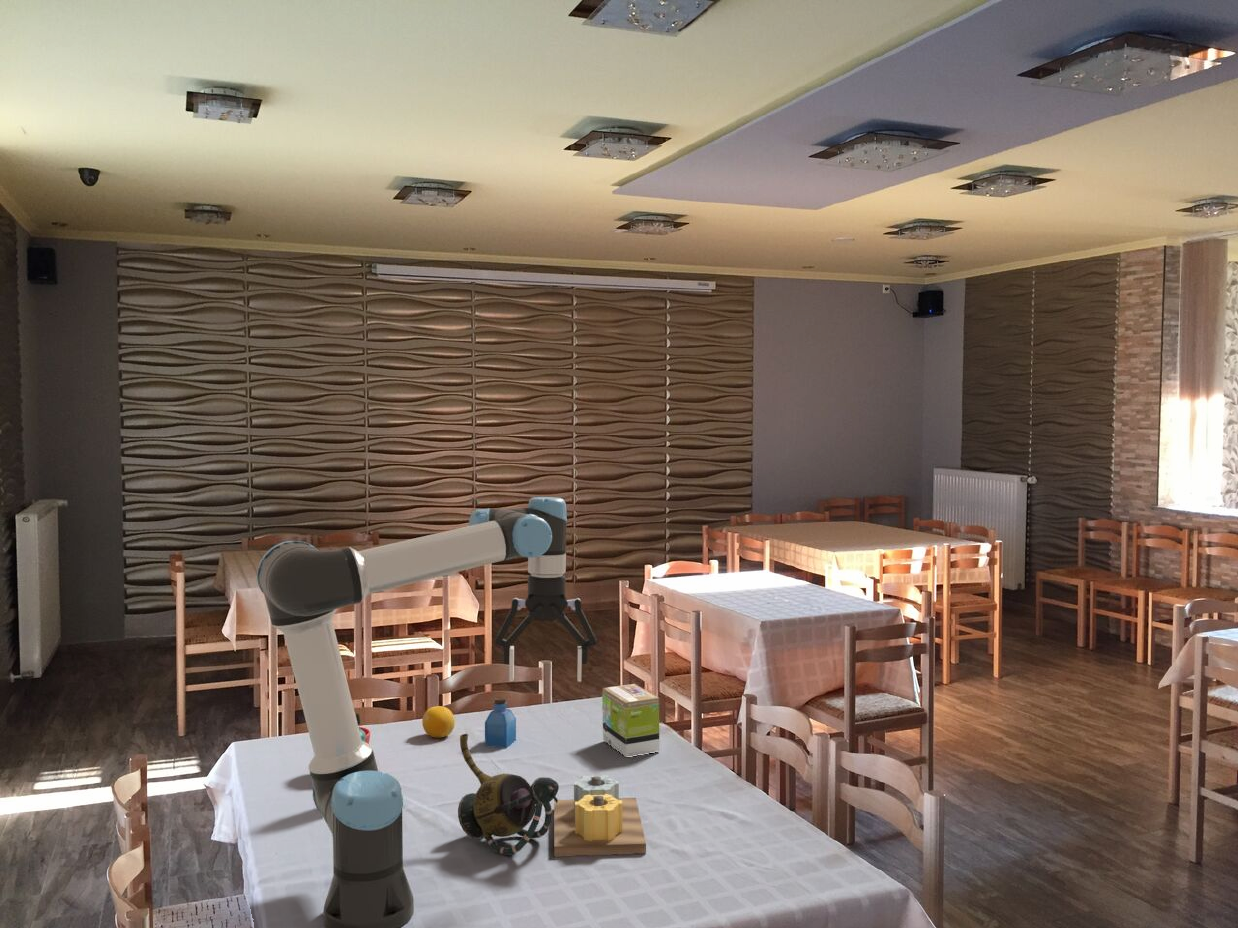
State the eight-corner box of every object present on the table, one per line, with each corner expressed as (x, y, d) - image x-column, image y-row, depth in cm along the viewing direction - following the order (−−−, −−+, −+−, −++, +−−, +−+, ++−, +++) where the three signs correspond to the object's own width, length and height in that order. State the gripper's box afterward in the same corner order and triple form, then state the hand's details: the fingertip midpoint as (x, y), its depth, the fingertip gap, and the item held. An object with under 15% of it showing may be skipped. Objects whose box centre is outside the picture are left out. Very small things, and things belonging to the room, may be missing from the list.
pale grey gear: (626, 812, 213) (626, 784, 212) (590, 822, 208) (590, 793, 207) (602, 798, 220) (601, 771, 220) (566, 807, 215) (566, 780, 215)
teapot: (471, 869, 199) (558, 840, 188) (426, 749, 204) (509, 714, 193) (507, 847, 210) (592, 818, 199) (464, 733, 214) (545, 699, 203)
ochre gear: (620, 821, 208) (620, 793, 208) (623, 839, 199) (623, 810, 199) (574, 823, 207) (574, 794, 207) (575, 841, 198) (575, 811, 198)
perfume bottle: (484, 745, 263) (484, 700, 262) (494, 738, 269) (494, 694, 268) (506, 747, 261) (506, 702, 261) (516, 740, 267) (515, 696, 266)
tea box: (601, 741, 266) (601, 686, 265) (635, 736, 270) (635, 682, 269) (625, 758, 252) (625, 700, 252) (660, 753, 257) (660, 696, 256)
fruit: (461, 735, 272) (460, 705, 271) (440, 743, 265) (440, 713, 265) (436, 729, 277) (436, 701, 276) (416, 737, 270) (415, 708, 269)
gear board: (646, 853, 197) (645, 808, 197) (554, 856, 196) (554, 811, 196) (635, 806, 221) (635, 766, 221) (554, 808, 220) (553, 768, 220)
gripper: (608, 572, 205) (606, 675, 206) (485, 571, 203) (484, 674, 204) (610, 577, 197) (608, 684, 198) (482, 576, 196) (481, 684, 197)
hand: (545, 679), depth 201 cm, fingers open, 13 cm apart
